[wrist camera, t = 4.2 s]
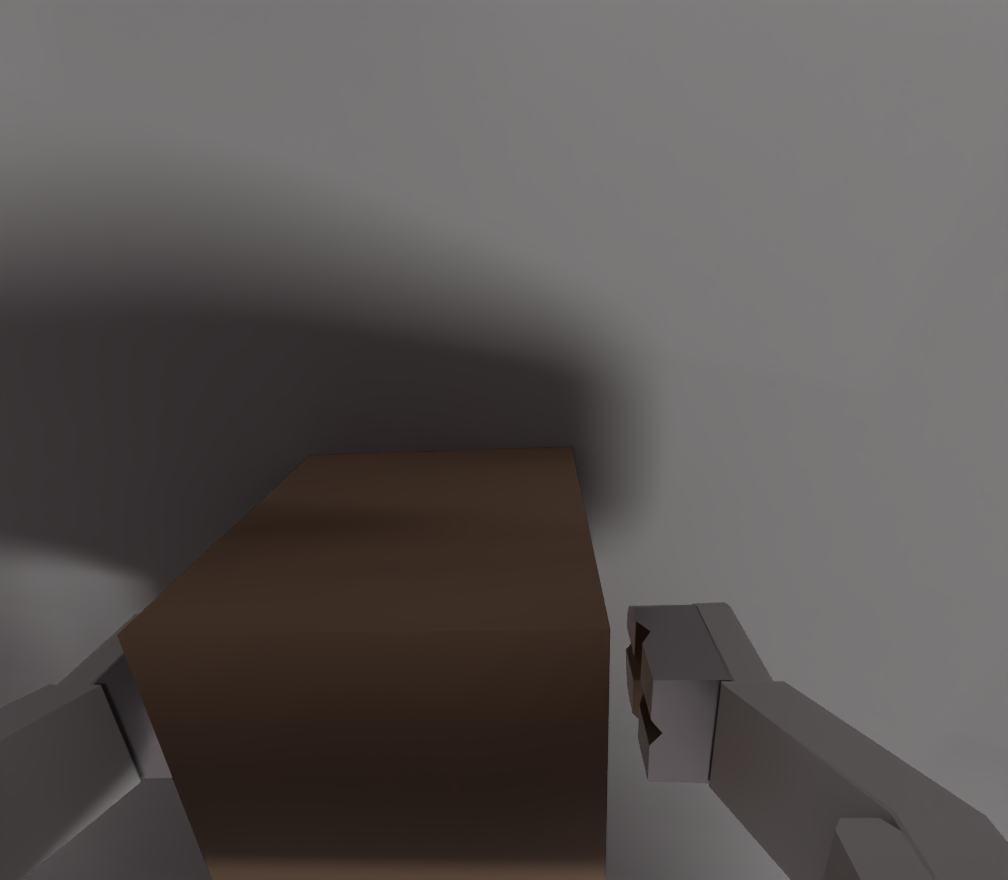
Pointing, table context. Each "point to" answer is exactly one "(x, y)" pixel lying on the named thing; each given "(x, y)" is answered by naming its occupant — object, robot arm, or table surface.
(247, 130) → the table surface
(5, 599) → the table surface
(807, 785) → the robot arm
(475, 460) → the walnut cube
